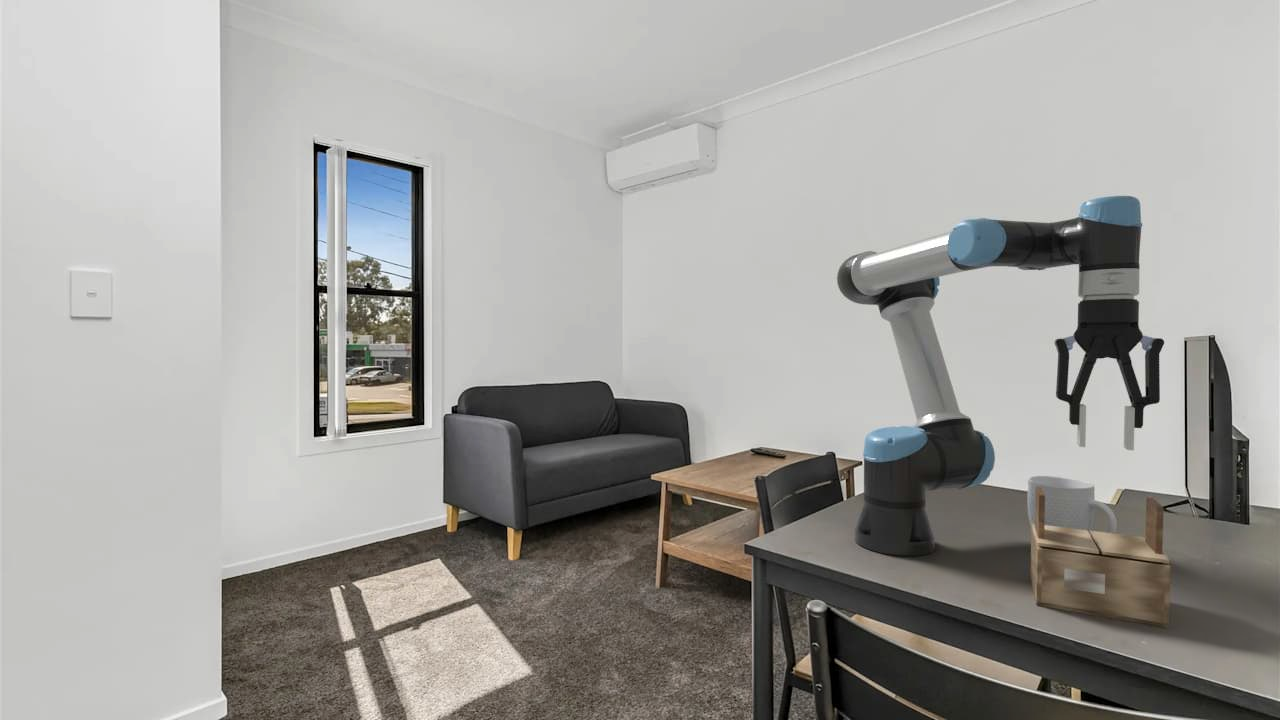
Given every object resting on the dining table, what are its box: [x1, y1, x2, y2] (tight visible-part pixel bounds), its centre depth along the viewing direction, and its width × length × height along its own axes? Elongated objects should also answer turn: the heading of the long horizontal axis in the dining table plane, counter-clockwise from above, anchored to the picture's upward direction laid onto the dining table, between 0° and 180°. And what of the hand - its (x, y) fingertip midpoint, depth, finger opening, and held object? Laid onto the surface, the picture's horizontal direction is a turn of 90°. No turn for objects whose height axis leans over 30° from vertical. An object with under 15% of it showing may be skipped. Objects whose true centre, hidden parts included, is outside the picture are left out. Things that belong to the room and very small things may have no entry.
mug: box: [1026, 475, 1118, 535], centre depth 120 cm, size 15×11×13 cm
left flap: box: [1032, 487, 1099, 554], centre depth 98 cm, size 8×11×8 cm
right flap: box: [1090, 497, 1171, 565], centre depth 94 cm, size 8×11×8 cm
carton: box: [1029, 527, 1171, 629], centre depth 96 cm, size 16×12×9 cm
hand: (1104, 446), depth 95 cm, fingers open, 5 cm apart
